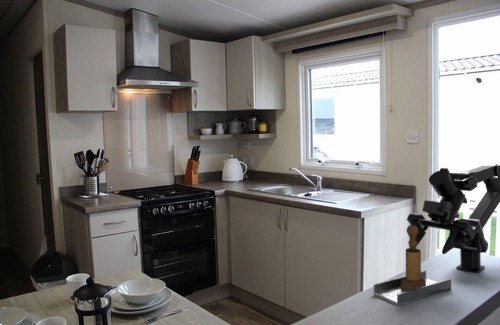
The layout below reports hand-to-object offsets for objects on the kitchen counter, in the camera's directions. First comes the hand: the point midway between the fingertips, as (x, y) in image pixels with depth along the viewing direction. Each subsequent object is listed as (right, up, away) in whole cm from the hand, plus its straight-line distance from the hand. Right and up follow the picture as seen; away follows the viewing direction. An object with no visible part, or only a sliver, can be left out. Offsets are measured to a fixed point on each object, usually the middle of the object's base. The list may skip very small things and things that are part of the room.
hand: (427, 249), depth 122 cm
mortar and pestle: (-5, -10, -3) cm, 12 cm away
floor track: (-6, -11, -3) cm, 13 cm away
